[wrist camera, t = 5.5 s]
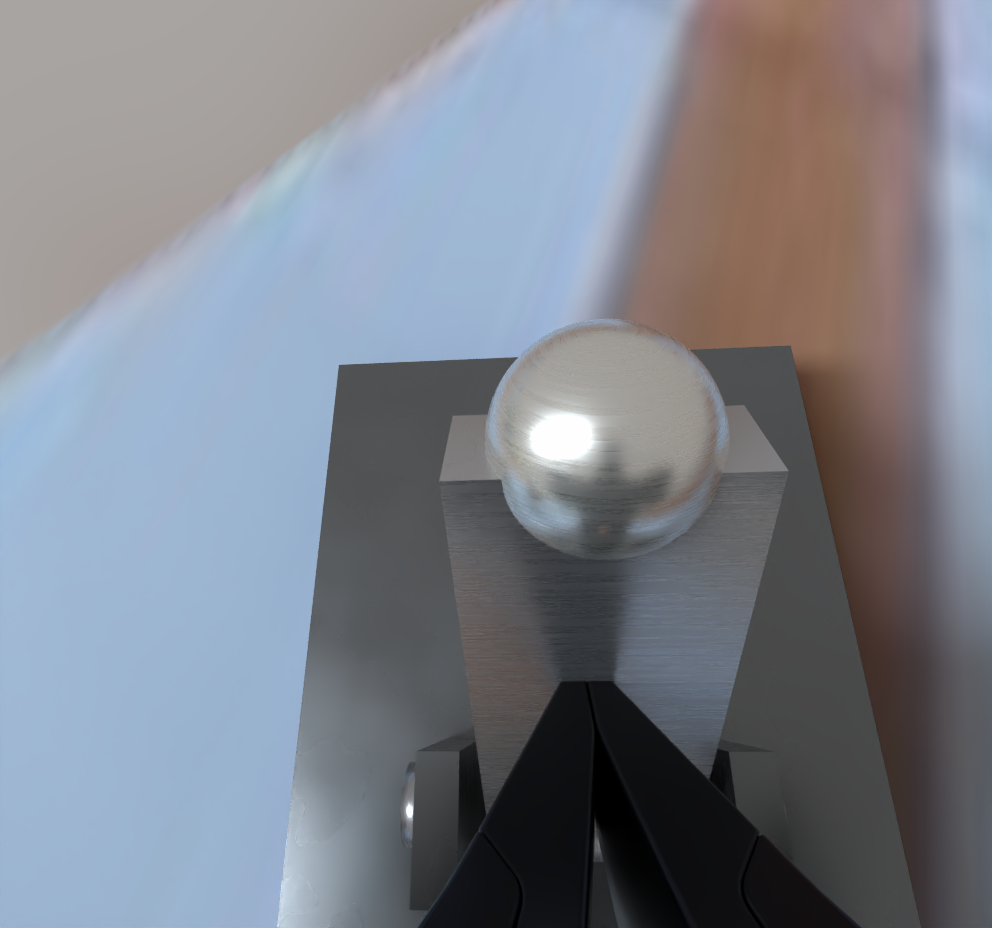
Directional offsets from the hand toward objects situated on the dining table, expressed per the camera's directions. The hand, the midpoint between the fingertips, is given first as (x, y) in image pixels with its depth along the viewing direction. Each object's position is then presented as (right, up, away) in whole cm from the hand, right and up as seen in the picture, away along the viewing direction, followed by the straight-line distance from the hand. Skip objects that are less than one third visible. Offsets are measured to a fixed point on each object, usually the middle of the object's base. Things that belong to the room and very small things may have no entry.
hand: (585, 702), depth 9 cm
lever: (+1, -3, +3) cm, 5 cm away
